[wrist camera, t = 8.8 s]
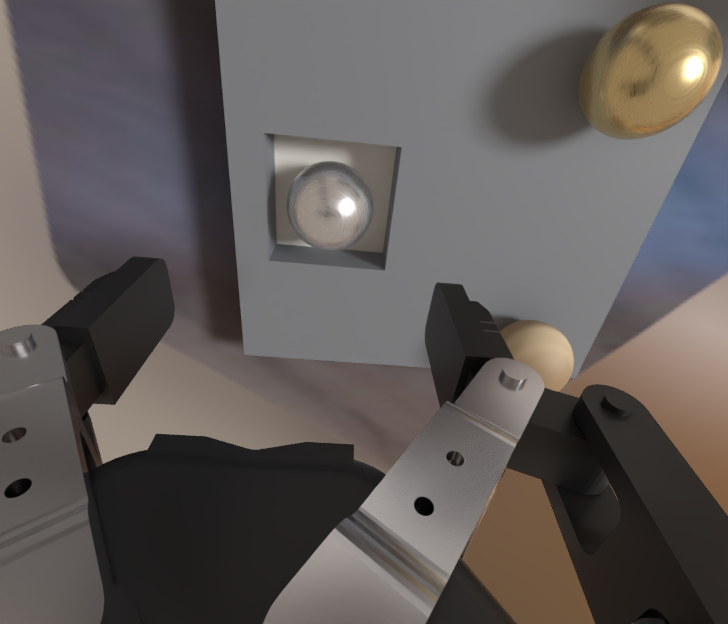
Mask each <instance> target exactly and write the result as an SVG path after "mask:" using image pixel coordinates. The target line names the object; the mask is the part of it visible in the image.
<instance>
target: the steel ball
mask: <svg viewBox="0 0 728 624" xmlns="http://www.w3.org/2000/svg"><path fill="white" fill-rule="evenodd" d="M286 206H287V215H288V219H289V222H290V224H291V226H292V228H293V229H294V231H295V233H296V234H297V235H298V236H299V237H300V238H301V239H302V240H303V241H304V242H305V243H307V244H308V245H310V246H312V247H314V248H317V249H320V250H325V251H338V250H342V249H345V248H348V247H350V246H352V245H353V244H355V243H356V242H358V241H359V240H360V239H361V238H362V237H363V236H364V234H365V233H366V231H367V230H368V228H369V226H370V224H371V221H372V217H373V211H374V203H373V197H372V193H371V190H370V188H369V186H368V184H367V182H366V181H365V179H364V178H363V177H362V176H361V174H360V173H359V172H357V171H356V170H355V169H353V168H352V167H350V166H348V165H346V164H344V163H340V162H336V161H322V162H318V163H315V164H312V165H310V166H308V167H306V168H305V169H304V170H302V171H301V172H300V173H299V174H298V175H297V176H296V178H295V179H294V180H293V182H292V184H291V186H290V189H289V192H288V195H287V203H286Z"/></svg>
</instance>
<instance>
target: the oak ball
mask: <svg viewBox="0 0 728 624" xmlns="http://www.w3.org/2000/svg"><path fill="white" fill-rule="evenodd" d="M499 333H501V335H502V337H503V339H504V341H505V343H506V345H507V346H508V348H509V350H510V352H511V354H512V356H513V358H514V360H517V361H519V362H522V363H524V364H526V365H528V366H529V367H531V368H532V369H534V370H535V371H536V372H537V373H538V374H539V375H540V377H541V378H542V380H543V382H544V387H545V388H547V389H550V390H553V391H557V392H558V391H559V390H560V389H562V388H563V387H564V386H565V384H566V383H567V382H568V380H569V378H570V377H571V374H572V371H573V366H574V357H573V351H572V348H571V346H570V344H569V342H568V340H567V339H566V338H565V336H564V335H563V334H562V333H561V332H560V331H559V330H557V329H556V328H555V327H553V326H551V325H549V324H547V323H545V322H541V321H536V320H522V321H518V322H514V323H512V324H510V325H508V326H506V327H505V328H503V329H502V330H501V331H500V332H499Z"/></svg>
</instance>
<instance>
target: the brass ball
mask: <svg viewBox="0 0 728 624" xmlns="http://www.w3.org/2000/svg"><path fill="white" fill-rule="evenodd" d="M722 56H723V45H722V39H721V35H720V32H719V29H718V27H717V26H716V24H715V22H714V21H713V20H712V19H711V18H710V17H709V15H708V14H706V13H705V12H703V11H702V10H700V9H698V8H696V7H694V6H692V5H687V4H682V3H663V4H656V5H653V6H649V7H646V8H643V9H641V10H638V11H636V12H634V13H632V14H630V15H629V16H627V17H625V18H624V19H622V20H621V21H619V22H618V23H617V24H615V25H614V26H613V27H612V28H611V29H609V30H608V31H607V32H606V33H605V34H604V35H603V37H602V38H601V39H600V40H599V41H598V42H597V44H596V45H595V46H594V47H593V49H592V51H591V52H590V54H589V56H588V58H587V60H586V62H585V64H584V66H583V69H582V72H581V76H580V80H579V86H578V98H579V104H580V108H581V111H582V113H583V115H584V117H585V119H586V120H587V122H588V123H589V124H590V125H591V126H592V127H593V128H594V129H596V130H597V131H598V132H600V133H602V134H604V135H606V136H609V137H611V138H616V139H622V140H633V139H642V138H646V137H650V136H654V135H656V134H659V133H662V132H664V131H666V130H668V129H670V128H672V127H673V126H675V125H676V124H678V123H680V122H681V121H682V120H684V119H685V118H686V117H688V116H689V115H690V114H691V113H692V112H693V111H694V110H695V109H696V108H697V107H698V106H699V105H700V104H701V103H702V101H703V100H704V99H705V98H706V96H707V95H708V93H709V92H710V90H711V89H712V87H713V85H714V83H715V81H716V79H717V76H718V74H719V71H720V68H721V63H722Z"/></svg>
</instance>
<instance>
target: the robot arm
mask: <svg viewBox="0 0 728 624" xmlns="http://www.w3.org/2000/svg"><path fill="white" fill-rule="evenodd" d="M173 318H174V302H173V296H172V291H171V286H170V281H169V275H168V270H167V266H166V263H165V262H164V260H163V259H158V258H146V257H132V258H130V259H129V260H128V261H127V262H126V263H125V264H124V265H122V266H121V267H120V268H119V269H118V270H117V271H115V272H111V273H109V274H107V275H104V276H102V277H100V278H98V279H95V280H94V281H93V282H92V283H91V284H89V285H88V286H87V287H86V288H85V289H83V292H80V293H79V294H77V295H76V296H75V297H74V299H73V300H70V301H69V302H68V303H67V304H65V305H64V306H63V307H62V308H61V309H60V310H58V311H57V312H56V313H55V314H53V315H52V316H51V317H50V318H49V319H47V320H46V321H45V322H44V323H43V324H41V325H24V326H18V327H14V328H10V329H6V330H3V331H1V332H0V624H517V623H516V622H515V621H514V619H513V618H512V617H511V616H510V615H509V613H508V612H507V611H506V610H505V609H504V608H503V607H502V605H501V604H500V603H499V602H498V601H497V599H496V598H495V597H494V596H493V595H492V594H491V592H490V591H489V590H488V589H487V588H486V586H485V585H484V584H483V583H482V582H481V581H480V579H479V578H478V577H477V576H476V575H475V574H474V572H473V571H472V570H471V569H470V568H469V567H468V565H467V564H466V563H465V562H464V561H463V559H462V558H463V556H464V554H465V552H466V550H467V548H468V546H469V544H470V542H471V540H472V537H473V536H474V534H475V532H476V529H477V527H478V525H479V523H480V521H481V519H482V517H483V515H484V513H485V511H486V509H487V507H488V505H489V503H490V501H491V499H492V497H493V495H494V493H495V491H496V489H497V487H498V485H499V483H500V481H501V479H502V477H503V475H504V473H505V471H506V469H507V468H509V469H512V470H515V471H518V472H521V473H524V474H527V475H530V476H533V477H536V478H539V479H541V480H542V482H543V485H544V488H545V491H546V493H547V496H548V498H549V501H550V504H551V507H552V509H553V512H554V514H555V517H556V520H557V523H558V525H559V528H560V530H561V533H562V536H563V539H564V541H565V544H566V547H567V549H568V552H569V555H570V557H571V560H572V563H573V565H574V568H575V570H576V573H577V576H578V579H579V581H580V584H581V587H582V589H583V592H584V595H585V597H586V600H587V603H588V606H589V608H590V611H591V614H592V616H593V619H594V621H595V624H728V516H727V514H726V513H725V512H724V510H723V509H722V508H721V507H720V505H719V504H718V502H717V501H716V500H715V498H714V497H713V496H712V494H711V493H710V492H709V491H708V489H707V488H706V487H705V485H704V484H703V483H702V481H701V480H700V479H699V477H698V476H697V475H696V474H695V472H694V471H693V469H692V468H691V467H690V465H689V464H688V463H687V461H686V460H685V459H684V458H683V456H682V455H681V454H680V452H679V451H678V450H677V448H676V447H675V446H674V444H673V443H672V442H671V440H670V439H669V438H668V436H667V435H666V434H665V432H664V431H663V430H662V428H661V427H660V426H659V424H658V423H657V422H656V420H655V419H654V418H653V416H652V415H651V414H650V413H649V411H648V410H647V409H646V408H645V406H644V405H643V404H641V403H640V402H639V401H638V400H637V399H635V398H634V397H632V396H631V395H629V394H627V393H625V392H624V391H621V390H619V389H616V388H614V387H610V386H606V385H598V384H596V385H590V386H588V387H586V388H585V389H584V390H583V392H582V394H581V396H580V398H577V397H574V396H570V395H567V394H563V393H560V392H557V391H553V390H550V389H547V388H545V387H544V382H543V380H542V378H541V377H540V375H539V374H538V373H537V372H536V371H535V370H534V369H532V368H531V367H529V366H528V365H526V364H524V363H522V362H519V361H517V360H514V358H513V356H512V354H511V352H510V350H509V348H508V346H507V345H506V343H505V341H504V339H503V337H502V335H501V333H499V329H498V327H497V325H496V324H495V322H494V320H493V318H492V316H491V314H490V312H489V311H488V310H487V309H486V308H485V307H483V306H482V305H481V304H480V303H479V302H478V301H470V300H469V298H468V296H467V294H466V291H465V289H464V287H463V285H462V284H452V283H440V282H437V283H436V285H435V287H434V291H433V295H432V300H431V304H430V308H429V313H428V317H427V322H426V327H425V346H426V350H427V354H428V358H429V362H430V367H431V371H432V375H433V379H434V383H435V388H436V392H437V396H438V400H439V404H440V409H439V410H438V411H437V413H436V414H435V415H434V416H433V418H432V419H431V420H430V421H429V423H428V424H427V425H426V426H425V427H424V429H423V430H422V431H421V432H420V434H419V435H418V436H417V437H416V439H415V440H414V441H413V442H412V444H411V445H410V446H409V447H408V448H407V450H406V451H405V452H404V453H403V455H402V456H401V457H400V458H399V460H398V461H397V462H396V463H395V465H394V466H393V467H392V468H391V469H390V471H389V472H388V473H387V474H386V475H385V474H384V473H383V472H381V471H379V470H378V469H376V468H374V467H372V466H370V465H367V464H365V463H363V462H359V461H356V460H354V459H353V458H354V445H351V444H332V443H315V442H304V443H297V444H291V445H285V446H279V447H273V448H267V449H260V450H251V449H247V448H243V447H240V446H236V445H233V444H229V443H226V442H223V441H219V440H216V439H213V438H209V437H204V436H186V435H167V434H156V435H155V437H154V439H153V441H152V443H151V445H150V446H149V448H148V450H144V451H139V452H136V453H132V454H128V455H125V456H122V457H119V458H116V459H114V460H111V461H109V462H107V463H104V464H103V463H102V459H101V455H100V451H99V447H98V444H97V440H96V436H95V433H94V429H93V425H92V421H91V418H90V415H89V413H88V410H89V408H90V407H91V406H92V404H94V403H95V404H111V405H115V404H116V402H117V401H118V399H119V398H120V396H121V395H122V394H123V392H124V391H125V389H126V388H127V387H128V385H129V384H130V382H131V381H132V379H133V378H134V377H135V375H136V374H137V372H138V371H139V370H140V368H141V367H142V365H143V364H144V363H145V361H146V360H147V358H148V357H149V355H150V354H151V352H152V351H153V350H154V348H155V347H156V345H157V344H158V343H159V341H160V340H161V338H162V337H163V336H164V334H165V333H166V331H167V330H168V329H169V327H170V326H171V324H172V321H173ZM609 484H611V486H612V488H613V490H614V492H615V494H616V496H617V498H618V500H617V498H616V496H615V494H614V492H613V490H612V488H611V487H610V485H609ZM618 501H619V502H618Z"/></svg>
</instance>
